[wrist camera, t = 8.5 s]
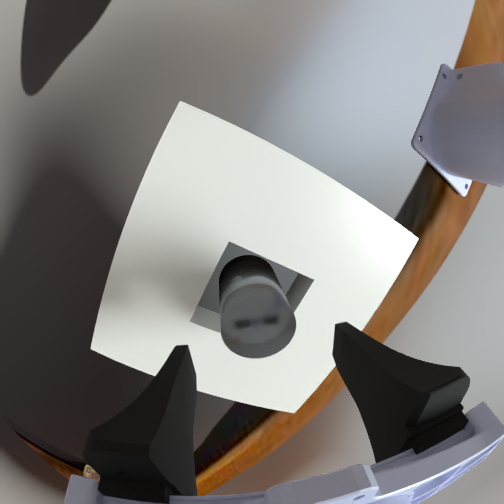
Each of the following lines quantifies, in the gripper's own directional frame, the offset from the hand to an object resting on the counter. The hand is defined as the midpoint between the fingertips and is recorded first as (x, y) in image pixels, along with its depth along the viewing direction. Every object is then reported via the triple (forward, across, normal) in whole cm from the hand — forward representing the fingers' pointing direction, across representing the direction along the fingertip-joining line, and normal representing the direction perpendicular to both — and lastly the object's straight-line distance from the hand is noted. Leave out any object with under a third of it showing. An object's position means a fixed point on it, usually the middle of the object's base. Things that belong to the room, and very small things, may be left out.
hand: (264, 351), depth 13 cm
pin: (+8, 0, 0) cm, 8 cm away
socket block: (+8, 0, 0) cm, 8 cm away
